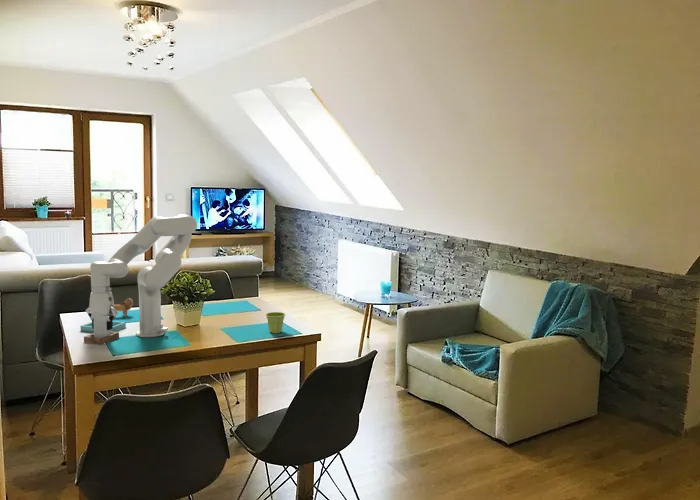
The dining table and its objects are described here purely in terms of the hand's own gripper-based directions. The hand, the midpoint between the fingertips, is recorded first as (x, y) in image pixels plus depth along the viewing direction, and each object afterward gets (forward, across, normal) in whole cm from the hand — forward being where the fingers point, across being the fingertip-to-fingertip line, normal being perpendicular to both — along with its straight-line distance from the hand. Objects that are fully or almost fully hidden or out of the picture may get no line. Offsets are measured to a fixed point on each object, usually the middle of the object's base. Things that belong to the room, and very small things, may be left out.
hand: (102, 328), depth 267 cm
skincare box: (+5, 0, 0) cm, 5 cm away
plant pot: (+7, -66, -41) cm, 77 cm away
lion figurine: (+6, +20, -38) cm, 44 cm away
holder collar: (+5, 0, 0) cm, 5 cm away
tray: (+5, +11, -15) cm, 19 cm away
